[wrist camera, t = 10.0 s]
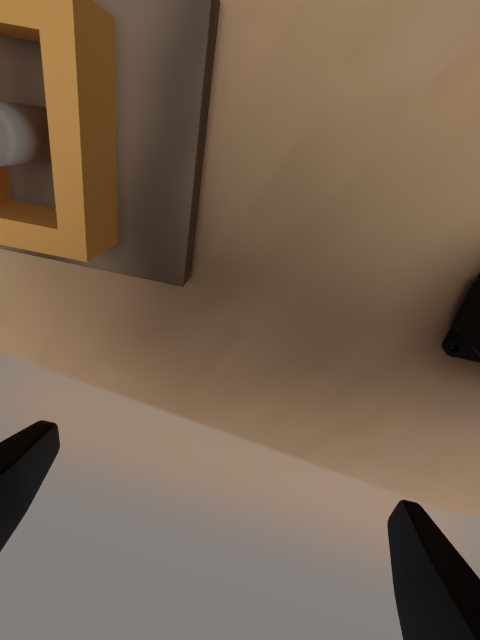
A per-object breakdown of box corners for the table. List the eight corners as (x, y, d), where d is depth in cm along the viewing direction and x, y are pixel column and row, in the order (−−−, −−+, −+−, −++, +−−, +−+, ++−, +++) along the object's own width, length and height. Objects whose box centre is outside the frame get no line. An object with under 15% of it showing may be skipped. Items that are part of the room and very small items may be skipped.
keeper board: (219, 1, 14) (163, -114, 8) (190, 276, 19) (144, 341, 13) (-112, -61, 14) (-428, -219, 8) (-45, 227, 20) (-197, 268, 14)
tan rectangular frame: (114, 17, 13) (71, -14, 11) (117, 243, 17) (87, 262, 15) (-49, -12, 13) (-131, -50, 11) (-7, 219, 18) (-58, 233, 15)
